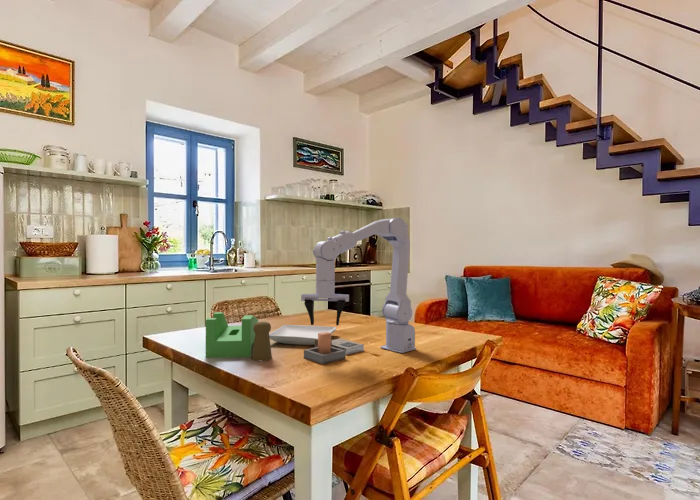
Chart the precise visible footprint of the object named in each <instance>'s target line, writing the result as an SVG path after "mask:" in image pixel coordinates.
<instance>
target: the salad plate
mask: <svg viewBox="0 0 700 500" xmlns="http://www.w3.org/2000/svg"><path fill="white" fill-rule="evenodd" d="M336 329H337V327H336V326H326V325H325V326H323V325H303V324H284V325H282V326H280V327H279V328H276V329H274V331H272V332H271V331H270V332H269V337H270V341H273V342H278V343H280V344H286V345H287V344H288V345H301V346H302V345H303V346H305V345H306V346H315V339H318V333H320V332H329V333H331V335H332V334H333V333H334V332H336Z"/></svg>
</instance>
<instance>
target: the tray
mask: <svg viewBox="0 0 700 500" xmlns="http://www.w3.org/2000/svg"><path fill="white" fill-rule="evenodd" d="M303 359H306V360H308V361H311V362H314V363H317V364H321V365H326V364H330V363H333V362H338V361H342V360H346V355H345V350H342V349H338V348H335V347H331V353H328V354H324V355H323V354H320V353H318V347H315V346H314V347H311V348H307V349H303Z"/></svg>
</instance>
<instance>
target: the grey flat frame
mask: <svg viewBox="0 0 700 500" xmlns="http://www.w3.org/2000/svg"><path fill="white" fill-rule="evenodd" d="M331 340H332V347H335V348H338V349H342V350H345V356H347V355H352V354H355V353H359V352H363V351H364V350H365V344H363V343H360V342H355V341H352V340H348V339H344V338H337V339H331Z"/></svg>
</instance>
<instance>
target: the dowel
mask: <svg viewBox="0 0 700 500" xmlns="http://www.w3.org/2000/svg"><path fill="white" fill-rule="evenodd" d="M331 340H332V334H331V333H329V332H320V333H318V353H320V354H323V355H324V354H328V353H331Z"/></svg>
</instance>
